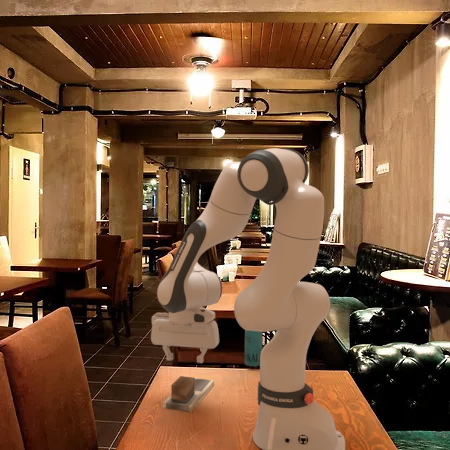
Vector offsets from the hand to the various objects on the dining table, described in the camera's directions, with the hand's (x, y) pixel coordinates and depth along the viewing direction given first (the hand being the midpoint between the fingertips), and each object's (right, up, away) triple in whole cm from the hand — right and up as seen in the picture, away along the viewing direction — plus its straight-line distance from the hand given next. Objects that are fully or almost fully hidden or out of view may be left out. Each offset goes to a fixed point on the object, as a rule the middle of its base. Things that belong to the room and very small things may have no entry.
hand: (185, 361), depth 130 cm
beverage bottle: (+22, -12, +31) cm, 39 cm away
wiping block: (-1, -11, +1) cm, 11 cm away
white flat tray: (+1, -13, +7) cm, 14 cm away
